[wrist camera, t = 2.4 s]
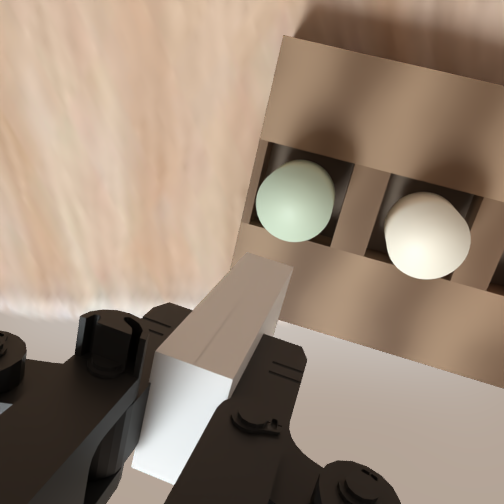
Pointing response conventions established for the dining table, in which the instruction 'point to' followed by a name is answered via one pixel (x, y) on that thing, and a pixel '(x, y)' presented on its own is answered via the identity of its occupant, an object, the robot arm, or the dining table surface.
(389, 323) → the wooden egg tray
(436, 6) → the dining table surface
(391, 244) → the white egg
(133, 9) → the dining table surface
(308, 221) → the pale green egg
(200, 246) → the dining table surface
